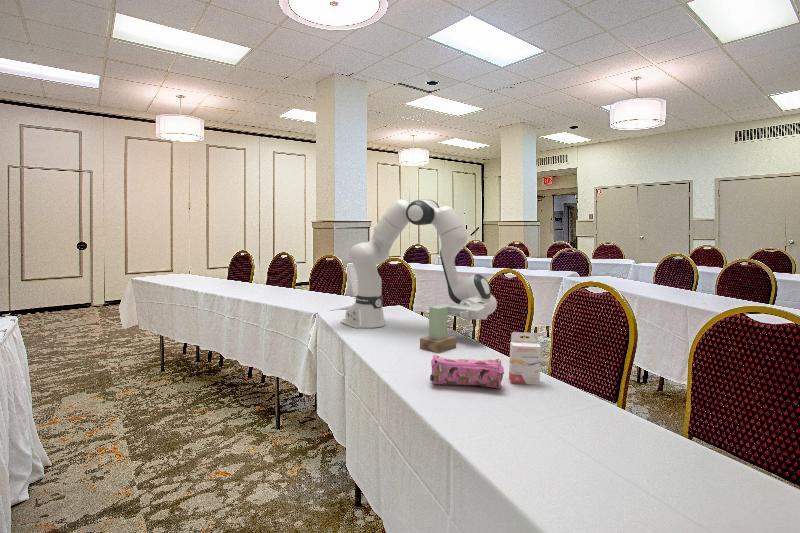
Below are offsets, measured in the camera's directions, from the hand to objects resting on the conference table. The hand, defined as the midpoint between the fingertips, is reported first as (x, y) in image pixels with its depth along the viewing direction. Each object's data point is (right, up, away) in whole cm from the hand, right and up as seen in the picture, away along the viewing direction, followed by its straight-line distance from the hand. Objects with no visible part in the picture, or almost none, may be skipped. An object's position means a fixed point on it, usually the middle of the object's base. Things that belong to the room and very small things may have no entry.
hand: (449, 313), depth 185 cm
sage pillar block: (-5, -9, -4) cm, 11 cm away
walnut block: (-5, -13, -4) cm, 14 cm away
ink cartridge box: (+18, -17, -42) cm, 48 cm away
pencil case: (+1, -17, -45) cm, 48 cm away
